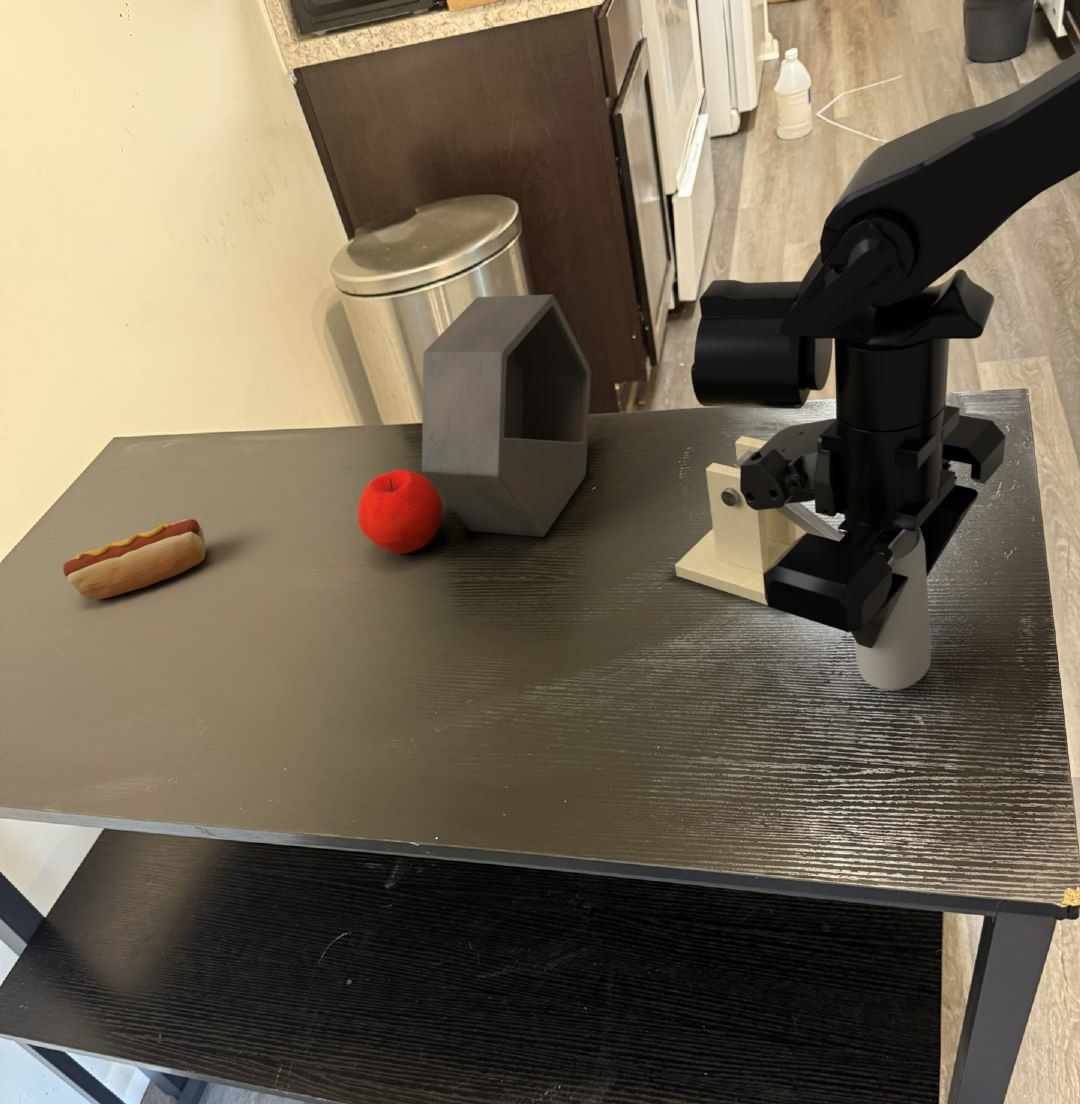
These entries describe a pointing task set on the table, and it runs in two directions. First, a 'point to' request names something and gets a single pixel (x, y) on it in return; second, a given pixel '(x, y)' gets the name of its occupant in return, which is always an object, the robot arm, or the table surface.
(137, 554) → the food
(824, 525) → the lever
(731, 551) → the bracket
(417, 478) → the apple
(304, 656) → the table surface
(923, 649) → the beverage can
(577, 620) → the table surface
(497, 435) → the planter
